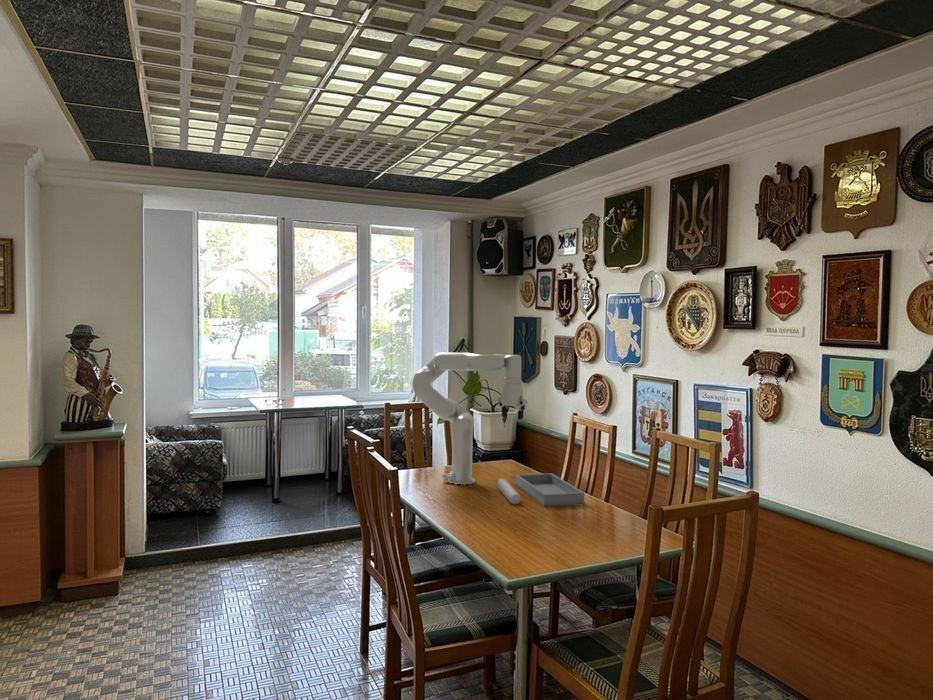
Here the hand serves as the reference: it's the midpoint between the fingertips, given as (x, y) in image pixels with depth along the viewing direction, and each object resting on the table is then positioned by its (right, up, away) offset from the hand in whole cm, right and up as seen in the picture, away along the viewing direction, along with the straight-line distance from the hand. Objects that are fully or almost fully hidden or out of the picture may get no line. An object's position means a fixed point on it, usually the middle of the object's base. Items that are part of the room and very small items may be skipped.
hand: (512, 417), depth 289 cm
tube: (-3, -33, -20) cm, 38 cm away
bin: (+15, -32, -15) cm, 39 cm away
